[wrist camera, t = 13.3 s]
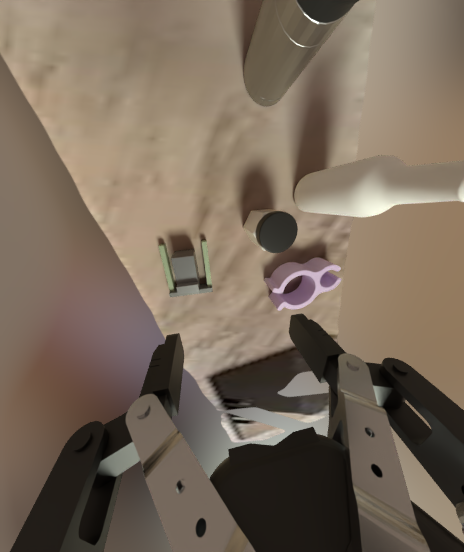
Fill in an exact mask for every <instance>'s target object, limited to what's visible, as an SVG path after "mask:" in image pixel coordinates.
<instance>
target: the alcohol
mask: <svg viewBox="0 0 464 552" xmlns="http://www.w3.org/2000/svg"><path fill="white" fill-rule="evenodd" d="M294 199H295V203H296V205H297V207H298V208H299V209H300V210H301V211H304V212H312V213H323V214H333V215H344V216H354V217H369V216H374V215H378V214H381V213H382V212H384V211H386V210H388V209H389V208H391V207H392V206H394V205H397V204H413V203H428V202H445V201H461V202H464V161H454V162H443V163H432V164H423V165H412V166H410V165H406V163H405V162H404V161H402V160H401V159H399V158H398V157H396V156H386V155H381V156H380V155H378V156H375V157H371V158H367V159H363V160H359V161H355V162H351V163H348V164H344V165H340V166H336V167H332V168H329V169H325V170H321V171H317V172H313V173H310V174H307V175H305V176H304V177H303V178H302V179H301V180H300V181H299V183H298V184H297V186H296V189H295V194H294Z"/></svg>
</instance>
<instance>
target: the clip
mask: <svg viewBox="0 0 464 552" xmlns="http://www.w3.org/2000/svg"><path fill="white" fill-rule="evenodd" d="M340 269H341V268H340V267H339V266H337V265H335V264H333V263H331V262H329V261H326V260H324V259H322V258H319V257H316V258H313V259H311V260H309V261H308V262H306V263H304V264H299V263H296V262H287V263H284V264H282V265H280V266H279V267H278V268H277V269H276V270H275V271H274V272H273V273H272V275H271V277H270V278H265V279H264V282H265V283H266V284H267V285H268V287H269V288H270V289H271V290H272V293H271V294H270V295H269V298H270V299H271V301H272V302H273V304H274V305H275V306H276V308H277V309H278V310H279V311H280V310H282V308H283V307H286V308H288V309H300V308H303V307H305V306H307V305H308V304H309V303H311V302H312V301H313V300H314V299H315V297H316V296H317V295H318V294H320V293H322V292H327V291H330V290H332V289H334V288H335V287H336V286H337V285H338V284H339V283H340V281H341V279H340V278H339V277H337V276H335V275H333V274H331V273H329V272H328V271H329V270H335V271H337V272H338V271H340ZM300 275H302V281H301V284H300V285H299V287H298V288H297V289H296V290H294V291H293V292H291V293H287V294H282V293H283V292H284V288H285V286H286V285H287V284H288V282H289V281H290V280H292V279H293V278H295V277H297V276H300Z"/></svg>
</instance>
